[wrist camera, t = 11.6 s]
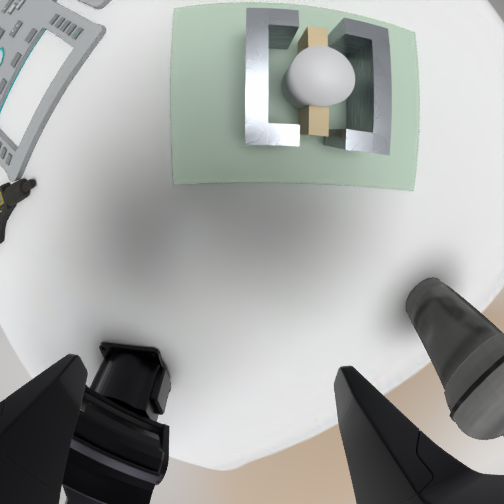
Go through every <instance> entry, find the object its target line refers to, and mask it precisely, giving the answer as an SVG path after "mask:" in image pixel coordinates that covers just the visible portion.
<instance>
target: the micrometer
mask: <svg viewBox="0 0 504 504" xmlns="http://www.w3.org/2000/svg"><path fill="white" fill-rule="evenodd" d="M34 186H35V181H34V180H33V179H30V180H28V181H27V180H26V179H21V180H19V181H17V182H15V183H13V184H12V185H11V184H10V183H6V184H4V185H1V186H0V243H2V242H3V241H4V231H5V225H6V222H5V221H7V220H8V218H9V216H10V214H11V213H12V211H13V210H14V208H15V207H16V204H17V203H18V202H20V201H21V200H23V199H24V198H26V197H27V196H28V195H29V193H30V189H31V188H33V187H34Z"/></svg>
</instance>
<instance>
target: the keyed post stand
mask: <svg viewBox="0 0 504 504" xmlns="http://www.w3.org/2000/svg"><path fill="white" fill-rule="evenodd" d="M246 8H276V9H290V10H299V28H298V30H297V32H296V34H295V36H294V38H293V40H292V42H291V44H290V46H289V48H288V50H287V49H269V87H268V123H273V124H295V125H300V138H299V146H280V145H245V78H246ZM343 18H349V19H354V20H358V21H362V22H366V23H370V24H374V25H377V26H381V27H384V28H387V29H388V32H389V43H390V56H391V77H392V121H391V143H390V156H389V155H382V154H375V153H368V152H360V151H351V150H344V149H339V148H334V147H330V146H325V145H323V141H324V136H328V135H329V129H346V98H347V97H348V96H349V95H350V94H351V93H352V91H353V89H354V85H355V73H354V70H353V67H352V65H351V64H350V62H349V61H348V59H347V58H346V57H345V56H344V55H343V54H341V53H340V52H338V51H337V50H335V49H333V48H330V47H328V34H329V33H330V32H331V31H332V30H333V29H334V28H335V27H336V26H337V24H338V23H339V22H340V21H341V20H342V19H343ZM419 116H420V96H419V70H418V57H417V46H416V38H415V32H412V31H410V30H407V29H404V28H401V27H398V26H395V25H392V24H389V23H386V22H383V21H379V20H376V19H372V18H368V17H364V16H360V15H356V14H352V13H347V12H342V11H337V10H332V9H326V8H319V7H312V6H304V5H295V4H282V3H261V2H239V3H217V4H205V5H195V6H187V7H180V8H174V14H173V28H172V45H171V74H170V120H171V152H172V171H173V185H179V184H202V183H307V184H330V185H347V186H362V187H374V188H386V189H396V190H406V191H414V185H415V177H416V167H417V156H418V142H419Z"/></svg>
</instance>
